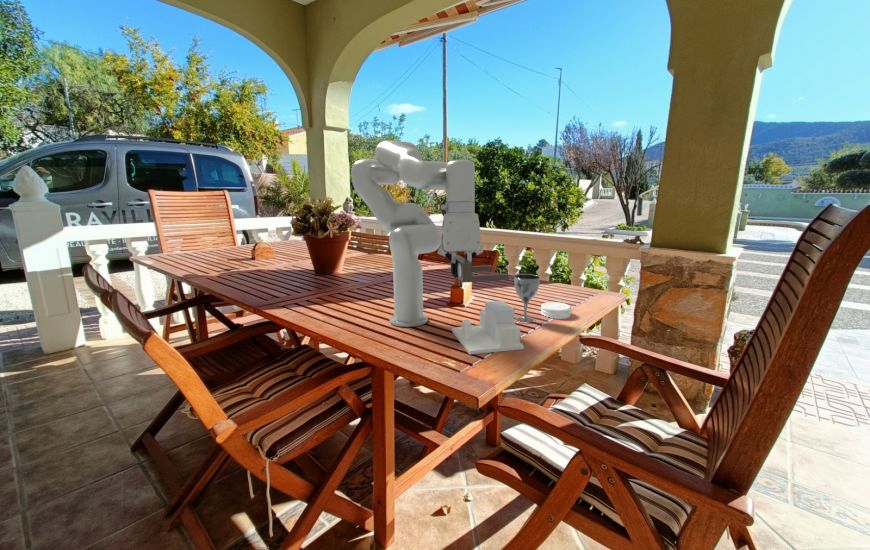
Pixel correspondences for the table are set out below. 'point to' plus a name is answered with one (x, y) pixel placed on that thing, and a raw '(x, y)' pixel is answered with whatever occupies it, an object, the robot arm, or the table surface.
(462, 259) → the grey frame
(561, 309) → the white round disc
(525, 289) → the wine glass
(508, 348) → the stand
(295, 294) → the table surface
